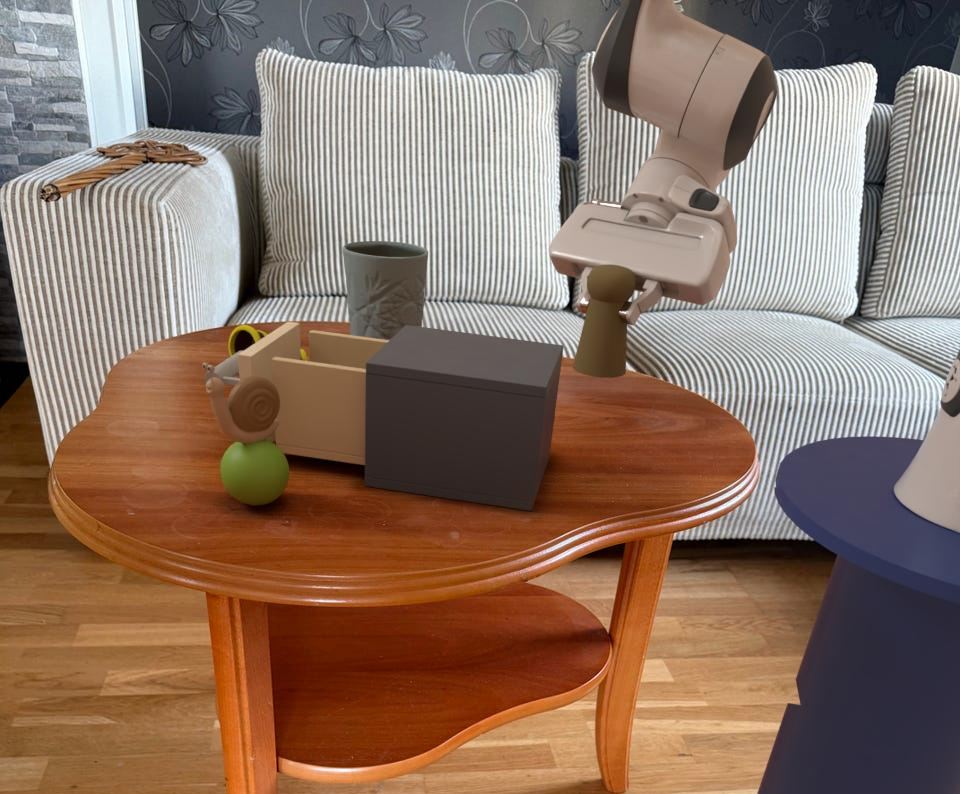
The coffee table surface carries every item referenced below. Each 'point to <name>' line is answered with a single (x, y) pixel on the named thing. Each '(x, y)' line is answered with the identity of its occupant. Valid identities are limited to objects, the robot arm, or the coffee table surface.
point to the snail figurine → (249, 438)
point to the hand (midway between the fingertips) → (604, 315)
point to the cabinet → (461, 416)
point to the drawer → (311, 389)
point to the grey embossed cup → (384, 287)
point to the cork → (605, 323)
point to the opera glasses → (248, 339)
